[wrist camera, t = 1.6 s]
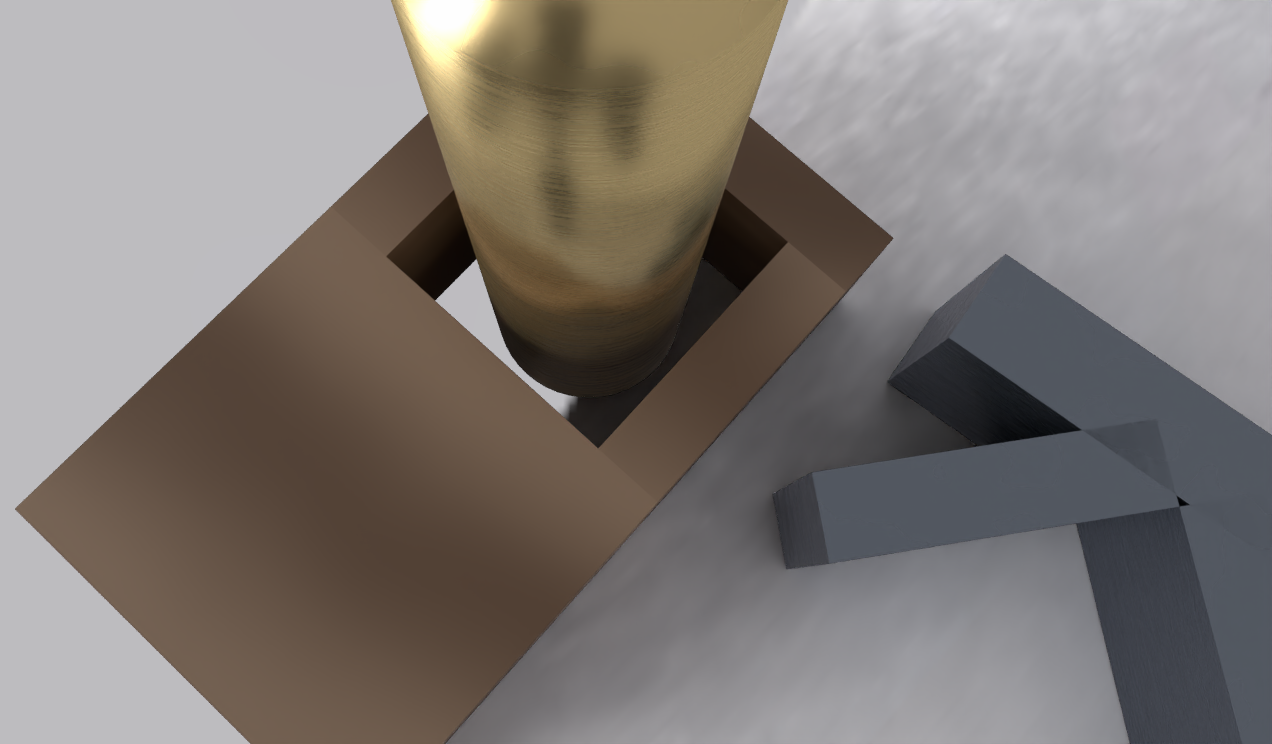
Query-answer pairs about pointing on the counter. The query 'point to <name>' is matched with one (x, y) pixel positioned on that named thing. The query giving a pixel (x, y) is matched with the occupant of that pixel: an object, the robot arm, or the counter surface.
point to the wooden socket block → (407, 458)
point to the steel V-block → (1082, 496)
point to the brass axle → (589, 162)
